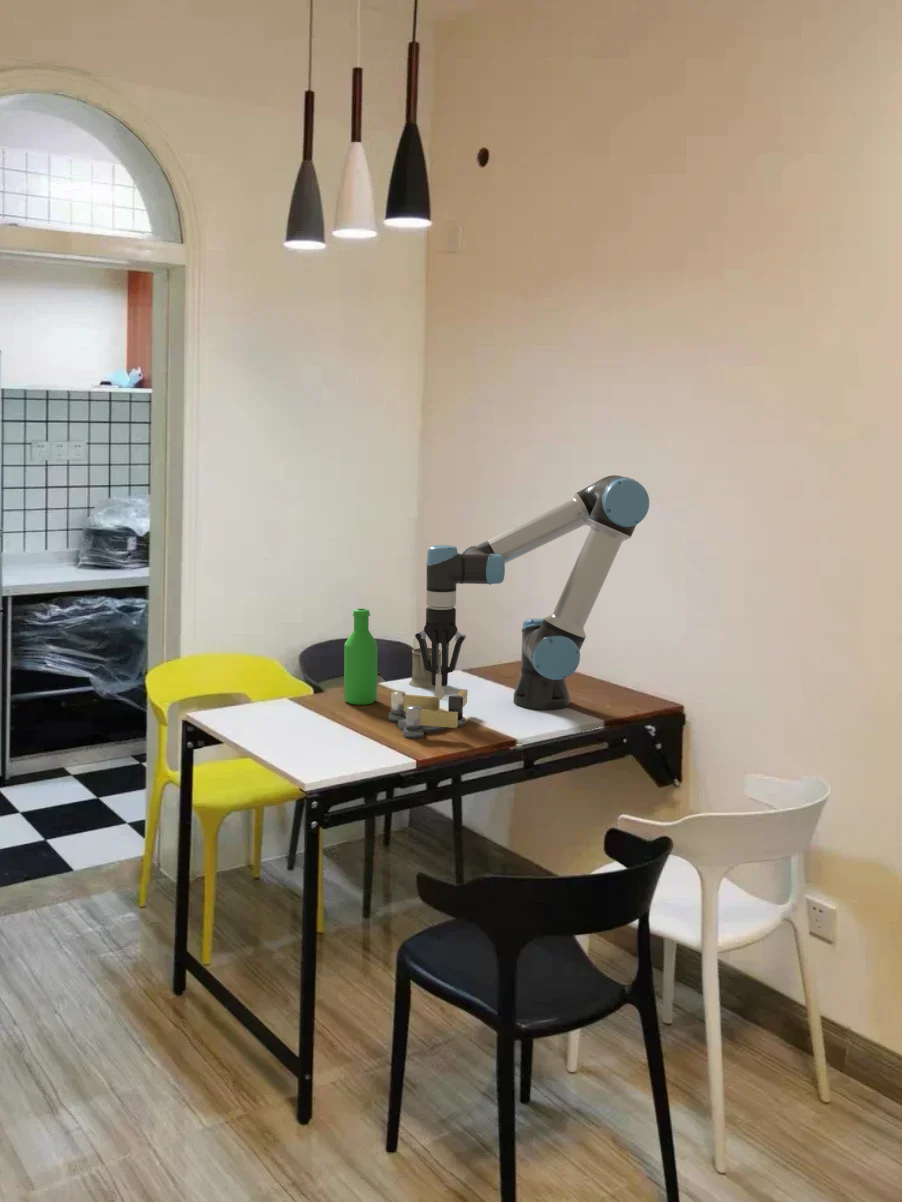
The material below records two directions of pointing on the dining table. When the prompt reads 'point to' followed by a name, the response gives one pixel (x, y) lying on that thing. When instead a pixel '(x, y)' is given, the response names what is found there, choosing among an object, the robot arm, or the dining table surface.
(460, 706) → the black and tan lever
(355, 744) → the dining table surface
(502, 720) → the dining table surface
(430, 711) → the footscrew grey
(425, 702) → the lever
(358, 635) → the bottle
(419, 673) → the mug
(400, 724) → the tribrach plate
